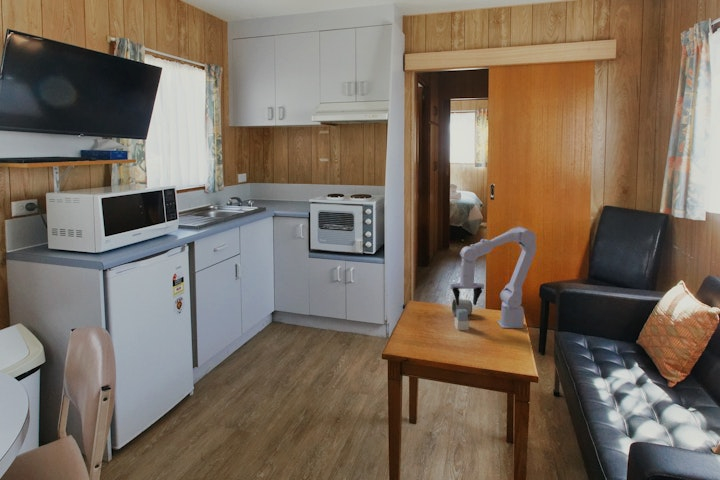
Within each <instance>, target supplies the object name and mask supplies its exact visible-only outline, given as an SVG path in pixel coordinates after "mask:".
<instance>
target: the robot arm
mask: <svg viewBox="0 0 720 480" xmlns="http://www.w3.org/2000/svg"><path fill="white" fill-rule="evenodd" d="M536 240H537V236H536V234H535V233H534V232H533V230H531V229H527V228H525V227H523V226H522V225H521V226H516V227H513V228H510V229H509V230H507V231H506V232H504V233H502V234H500V235H498V236H496V237H493V238H492V239H490V240H489V239H486V238H485V239H484V238H482V239H480V241H479V242H476V243H474V244H473V243H472V244H470V245H469V246H468V245H466V246H464V247H462V248H461V250H460V252H459V256H460V257H461V265H460V282H457V283H449V289H451V290H452V293H453V295H454V299H455V300H456V305H459V299H460V295H461V294H460V293H461V291H460V290H464V289H465V290H467V289H469V290H473V299H472V301H473V303H472V305H474V306H477V302H478V301H479V300H478V299H479V298H480V296H481V295H482V293H483V290H484V289H485V284H484V283H477V282H475V270H476V269H475V267H476V261H477V260H478V258H479V257H481V256H485V255H486V254H488V253H490V252H492V250H493V249H494V248H496V247H498V246H500V245H503V244H507V243H509V242H515V243H518V244H519V247H520V249H521V252H520V254H519V257H518V260H517V262H516V264H515V268H514V271H513V273H512V276H511V278H510V281H509V282H508V283H507V284H506V285H505V286H504V288H503V289H502V291H501V290H500V291H501V292H500V294H499V299H500V300H501V307H500V308H501V310H500V319H499V320H497V321H496V322H497V323H498V324H499V326H500V327H501V328H502V329H523V328H525V327H524V319H525V318H524V317H525V310H524V307H523V306H522V305H521V304H522V302H523V301H522V298H523V289H522V288H523V285H524V282H525V280H526V278H527V276H528V275H527V274H528V273H529V272H528V271H529V269H530V267H531V264H532V262H533V259H534V256H535V254H536V252H537V245H536V244H537V243H536Z"/></svg>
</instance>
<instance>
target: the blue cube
mask: <svg viewBox="0 0 720 480" xmlns="http://www.w3.org/2000/svg"><path fill="white" fill-rule="evenodd" d="M455 316H456V318H457V320H458V321H467V320H469V319H468V317H469V315H468V312H467V310H466V309H457V312H456V315H455Z"/></svg>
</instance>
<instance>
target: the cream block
mask: <svg viewBox="0 0 720 480" xmlns="http://www.w3.org/2000/svg"><path fill="white" fill-rule="evenodd" d="M453 326H454V327H455V329H456V331H469V330H470V321H469V319H468V320H467V321H458V320H457V318H456V317H454V324H453Z"/></svg>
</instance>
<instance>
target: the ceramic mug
mask: <svg viewBox="0 0 720 480" xmlns="http://www.w3.org/2000/svg"><path fill="white" fill-rule="evenodd" d="M457 309H466V310H467V312H468V316H471V314H472V312H473V303H472V301H471V300H469V299H462V298H461V299H460V298H459V305H456V300H455V298H453V300H452V303H451V312H452V315H453V316H456V312H457Z"/></svg>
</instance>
